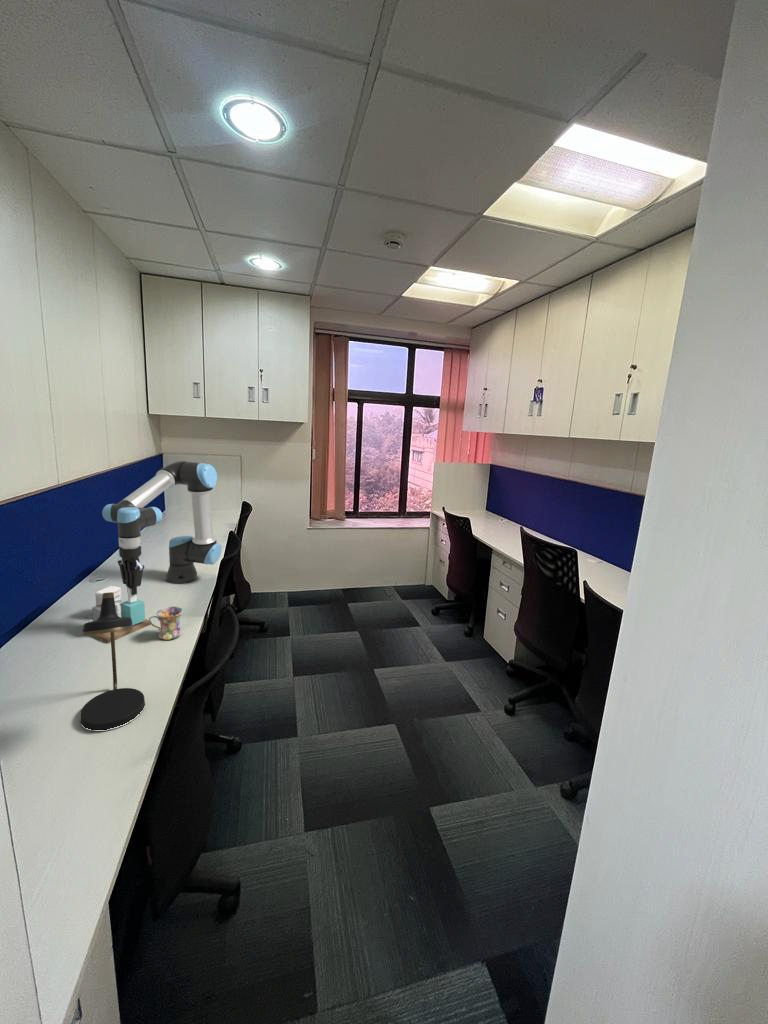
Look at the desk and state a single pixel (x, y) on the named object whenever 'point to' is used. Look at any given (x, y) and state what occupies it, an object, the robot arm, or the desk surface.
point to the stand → (118, 634)
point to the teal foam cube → (133, 611)
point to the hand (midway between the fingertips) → (132, 601)
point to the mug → (169, 622)
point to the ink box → (116, 596)
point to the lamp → (117, 702)
